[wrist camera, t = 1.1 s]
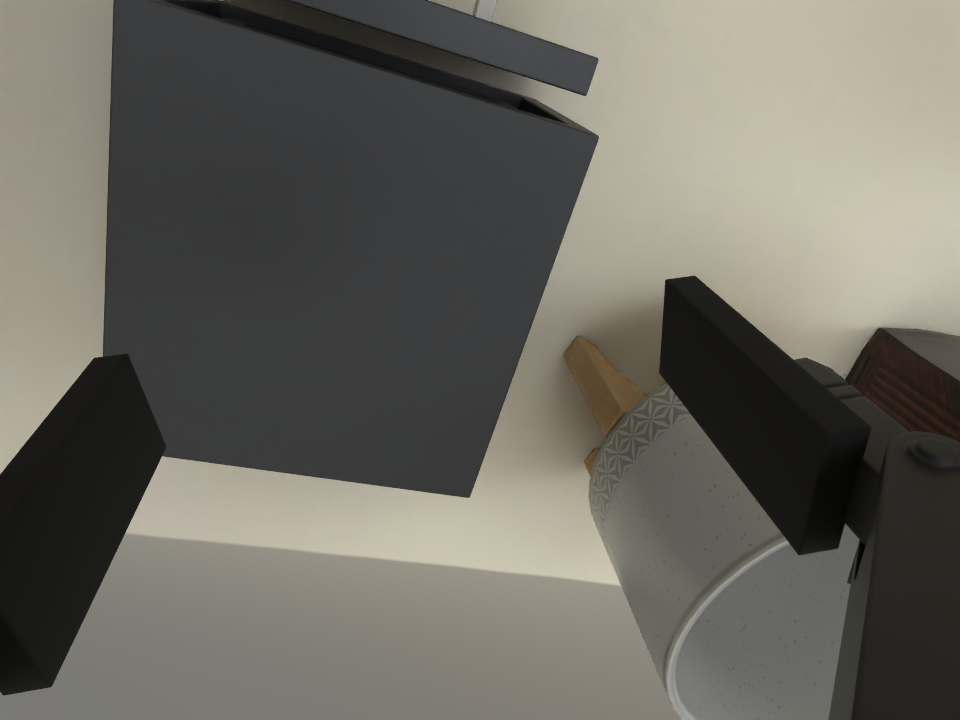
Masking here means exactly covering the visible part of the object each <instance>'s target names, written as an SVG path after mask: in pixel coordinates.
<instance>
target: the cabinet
mask: <svg viewBox="0 0 960 720" xmlns="http://www.w3.org/2000/svg"><path fill="white" fill-rule="evenodd" d="M221 18H233V19H236V20H239V21H243V22H246V23H249V24H252V25H256V26H259V27H262V28H265V29H269V30H272V31H275V32H278V33H282V34H285V35H288V36H291V37H295V38H298V39H301V40H304V41H308V42H311V43H314V44H318V45H321V46H324V47H327V48H331V49H334V50H337V51H340V52H344V53H347V54H350V55H353V56H357V57H360V58H363V59H366V60H370V61H373V62H376V63H379V64H383V65H386V66H389V67H392V68H396V69H399V70H402V71H406V72H409V73H412V74H415V75H419V76H422V77H425V78H428V79H432V80H435V81H438V82H441V83H445V84H448V85H451V86H454V87H458V88H461V89H464V90H467V91H471V92H474V93H477V94H480V95H484V96H487V97H490V98H494V99H497V100H500V101H503V102H507V103H510V104H511V105H512V106H514V107H516V108H517V109H516V108H513V107H509V106H506V105H503V104H499V103H496V102H493V101H490V100H486V99H483V98H480V97H477V96H473V95H470V94H467V93H463V92H460V91H457V90H454V89H450V88H447V87H444V86H441V85H437V84H434V83H431V82H427V81H424V80H421V79H418V78H414V77H411V76H408V75H404V74H401V73H398V72H395V71H391V70H388V69H385V68H382V67H378V66H375V65H372V64H368V63H365V62H362V61H359V60H355V59H352V58H349V57H346V56H342V55H339V54H336V53H332V52H329V51H326V50H323V49H319V48H316V47H313V46H310V45H306V44H303V43H300V42H296V41H293V40H290V39H287V38H283V37H280V36H277V35H274V34H270V33H267V32H264V31H260V30H257V29H254V28H251V27H247V26H244V25H241V24H238V23H234V22H231V21H228V20H224V19H221ZM598 139H599V136H598V135H596V134H595V133H593V132H591V131H589V130H588V129H586V128H584V127H582V126H581V125H579V124H577V123H575V122H574V121H572V120H570V119H568V118H567V117H565V116H563V115H561V114H560V113H558V112H556V111H554V110H553V109H551V108H549V107H547V106H546V105H544V104H542V103H541V102H539V101H537V100H535V99H532V98H529V97H525V96H522V95H519V94H516V93H513V92H509V91H506V90H503V89H500V88H497V87H493V86H490V85H487V84H484V83H481V82H477V81H474V80H471V79H468V78H464V77H461V76H458V75H455V74H452V73H448V72H445V71H442V70H439V69H436V68H432V67H429V66H426V65H423V64H420V63H416V62H413V61H410V60H407V59H404V58H400V57H397V56H394V55H391V54H388V53H384V52H381V51H378V50H375V49H372V48H368V47H365V46H362V45H359V44H355V43H352V42H349V41H346V40H343V39H339V38H336V37H333V36H330V35H327V34H323V33H320V32H317V31H314V30H311V29H307V28H304V27H301V26H298V25H295V24H291V23H288V22H285V21H282V20H279V19H275V18H272V17H269V16H266V15H263V14H259V13H256V12H253V11H250V10H246V9H243V8H240V7H237V6H234V5H230V4H227V3H224V2H221V1H218V0H114V5H113V38H112V71H111V104H110V137H109V170H108V203H107V237H106V270H105V303H104V336H103V357H105V356H112V355H119V354H127V353H128V355H129V357H130V360H131V362H132V365H133V367H134V369H135V372H136V374H137V377H138V379H139V381H140V384H141V386H142V389H143V391H144V393H145V396H146V398H147V401H148V403H149V406H150V408H151V410H152V413H153V415H154V418H155V420H156V422H157V425H158V427H159V430H160V432H161V434H162V437H163V439H164V442H165V444H166V446H167V447H166V449H165V451H164V453H163V455H162V456H165V457H172V458H180V459H187V460H194V461H202V462H209V463H216V464H224V465H231V466H238V467H246V468H253V469H260V470H268V471H275V472H282V473H290V474H297V475H304V476H312V477H319V478H326V479H334V480H341V481H348V482H356V483H363V484H370V485H378V486H385V487H393V488H400V489H407V490H415V491H422V492H429V493H437V494H444V495H451V496H459V497H466V498H469V497H470V495H471V492H472V490H473V487H474V484H475V481H476V479H477V476H478V473H479V470H480V467H481V465H482V462H483V459H484V456H485V453H486V451H487V448H488V445H489V442H490V440H491V437H492V434H493V431H494V428H495V426H496V423H497V420H498V417H499V415H500V412H501V409H502V406H503V403H504V401H505V398H506V395H507V392H508V389H509V387H510V384H511V381H512V378H513V376H514V373H515V370H516V367H517V364H518V362H519V359H520V356H521V353H522V351H523V348H524V345H525V342H526V339H527V337H528V334H529V331H530V328H531V325H532V323H533V320H534V317H535V314H536V312H537V309H538V306H539V303H540V300H541V298H542V295H543V292H544V289H545V286H546V284H547V281H548V278H549V275H550V273H551V270H552V267H553V264H554V261H555V259H556V256H557V253H558V250H559V248H560V245H561V242H562V239H563V236H564V234H565V231H566V228H567V225H568V222H569V220H570V217H571V214H572V211H573V209H574V206H575V203H576V200H577V197H578V195H579V192H580V189H581V186H582V184H583V181H584V178H585V175H586V172H587V170H588V167H589V164H590V161H591V158H592V156H593V153H594V150H595V147H596V145H597V142H598Z"/></svg>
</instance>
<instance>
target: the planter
mask: <svg viewBox="0 0 960 720" xmlns="http://www.w3.org/2000/svg"><path fill="white" fill-rule="evenodd" d="M769 340H770V339H769ZM776 346H777V345H776ZM782 351H783V350H782ZM783 352H784V351H783ZM789 357H790V356H789ZM563 358H564V359H565V361H566V363H567V365H568V367H569V369H570V371H571V373H572V375H573V376H574V378H575V380H576V382H577V384H578V386H579V388H580V390H581V392H582V393H583V395H584V397H585V399H586V401H587V403H588V405H589V407H590V409H591V410H592V412H593V414H594V416H595V418H596V420H597V422H598V424H599V426H600V427H601V429H602V431H603V433H604V435H606V436H608V437H607V439H606V440H605V442H604V444H603V445H602V447H601V449H600V450H598V449H596V448H595V449H594V451H593V452H592V453H591V454H590V456H589V457H588V458H587V459H586V461H585V462H584V463H585V466H586V468H587V470H588V472H589V474H590V477H591V478H590V483H589V502H590V508H591V513H592V516H593V519H594V521H595V524H596V527H597V529H598V531H599V534H600V536H601V539H602V541H603V543H604V546H605V548H606V550H607V553H608V555H609V558H610V560H611V562H612V565H613V567H614V570H615V572H616V574H617V577H618V579H619V581H620V584H621V586H622V589H623V591H624V593H625V595H626V598H627V600H628V603H629V605H630V608H631V610H632V612H633V615H634V617H635V619H636V622H637V624H638V627H639V629H640V631H641V634H642V636H643V639H644V641H645V643H646V646H647V648H648V650H649V653H650V655H651V657H652V660H653V662H654V664H655V667H656V669H657V672H658V674H659V677H660V679H661V681H662V684H663V686H664V688H665V691H666V693H667V696H668V698H669V700H670V703H671V705H672V707H673V708H674V710H675V711H676V713H677V714H678V716H679V717H680V718H681V720H829V713H830V707H831V701H832V695H833V689H834V683H835V677H836V670H837V664H838V658H839V652H840V646H841V640H842V634H843V627H844V621H845V615H846V609H847V603H848V597H849V590H850V584H848V583H847V581H848V577H849V574H850V570H851V567H852V564H853V560H854V557H855V554H856V550H857V547H858V543H859V540H860V539H859V538H858V537H857V536H856V535H855V534H854V533H853V532H852V531H851V529H850V528H849V527H848V526H847V525H846V524H845V526H844V529H843V533H842V537H841V540H840V544H839V547H838V549H833V550H828V551H822V552H816V553H811V554H805V555H798V554H797V553H796V551H795V550H794V549H793V548H792V546H791V545H790V544H789V542H788V541H787V540H786V538H785V537H784V536H783V534H782V533H781V532H780V530H779V529H778V528H777V527H776V525H775V524H774V523H773V521H772V520H771V519H770V517H769V516H768V515H767V513H766V512H765V511H764V510H763V508H762V507H761V506H760V504H759V503H758V502H757V500H756V499H755V498H754V496H753V495H752V494H751V493H750V491H749V490H748V489H747V487H746V486H745V485H744V483H743V482H742V481H741V479H740V478H739V477H738V476H737V474H736V473H735V472H734V470H733V469H732V468H731V466H730V465H729V464H728V462H727V461H726V460H725V458H724V457H723V456H722V455H721V453H720V452H719V451H718V449H717V448H716V447H715V445H714V444H713V443H712V441H711V440H710V439H709V438H708V436H707V435H706V434H705V432H704V431H703V430H702V428H701V427H700V426H699V424H698V423H697V422H696V421H695V419H694V418H693V417H692V415H691V414H690V413H689V411H688V410H687V409H686V407H685V406H684V405H683V404H682V402H681V401H680V400H679V398H678V397H677V396H676V394H675V393H674V392H673V390H672V389H671V388H670V386H669V385H668V384H667V383H665V384H664V385H662V386H660V387H659V388H657V389H655V390H654V391H652V392H651V393H650V394H648V395H646V394H645V393H644V392H642V391H641V390H640V389H638V388H637V387H636V386H635V385H634V384H632V383H631V382H630V381H629V380H628V379H626V378H625V377H624V376H623V375H622V374H621V373H620V372H619V371H617V370H616V369H615V368H614V367H613V366H612V365H611V364H610V363H609V362H608V361H607V360H606V358H605V357H604V356H603V355H602V354H601V353H600V352H599V350H598V349H597V348H596V346H595V345H594V344H592V343H590V342H588V341H586V340H584V339H583V338H581V337H579V336H577V337H576V339H575V340H574V342H573V343H572V344H571V346H570V347H569V349H568V350H567V351H566V353H565V354H564V356H563ZM790 358H791V357H790Z"/></svg>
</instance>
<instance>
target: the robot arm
mask: <svg viewBox="0 0 960 720" xmlns="http://www.w3.org/2000/svg"><path fill="white" fill-rule="evenodd" d="M659 373H660V375H661V376H662V377H663V379H664V380H665V381H666V383H667V384H668V385H669V386H670V388H671V389H672V390H673V392H674V393H675V394H676V396H677V397H678V398H679V400H680V401H681V402H682V404H683V405H684V406H685V407H686V409H687V410H688V411H689V413H690V414H691V415H692V417H693V418H694V419H695V421H696V422H697V423H698V424H699V426H700V427H701V428H702V430H703V431H704V432H705V434H706V435H707V436H708V438H709V439H710V440H711V441H712V443H713V444H714V445H715V447H716V448H717V449H718V451H719V452H720V453H721V455H722V456H723V457H724V458H725V460H726V461H727V462H728V464H729V465H730V466H731V468H732V469H733V470H734V472H735V473H736V474H737V476H738V477H739V478H740V479H741V481H742V482H743V483H744V485H745V486H746V487H747V489H748V490H749V491H750V493H751V494H752V495H753V496H754V498H755V499H756V500H757V502H758V503H759V504H760V506H761V507H762V508H763V510H764V511H765V512H766V513H767V515H768V516H769V517H770V519H771V520H772V521H773V523H774V524H775V525H776V527H777V528H778V529H779V530H780V532H781V533H782V534H783V536H784V537H785V538H786V540H787V541H788V542H789V544H790V545H791V546H792V548H793V549H794V550H795V551H796V553H797V554H798V555H805V554H811V553H816V552H822V551H828V550H833V549H838V547H839V544H840V540H841V537H842V533H843V529H844V526H845V524H846V525H847V526H848V527H849V528H850V529H851V531H852V532H853V533H854V534H855V535H856V536H857V537H858V538H859V539H860V540H859V543H858V547H857V550H856V554H855V557H854V560H853V564H852V567H851V570H850V574H849V577H848V581H847V583H848V584H850V590H849V597H848V603H847V609H846V615H845V621H844V627H843V634H842V640H841V646H840V652H839V658H838V664H837V670H836V677H835V683H834V689H833V695H832V701H831V707H830V713H829V720H960V442H958V441H956V440H954V439H952V438H949V437H945V436H942V435H939V434H936V433H929V432H921V431H912V432H909V431H908V430H907V429H905V428H904V427H903V426H902V425H900V424H899V423H898V422H897V421H895V420H894V419H893V418H892V417H890V416H889V415H888V414H887V413H885V412H884V411H883V410H882V409H881V408H879V407H878V406H877V405H876V404H874V403H873V402H872V401H871V400H869V399H868V398H867V397H866V396H862V395H861V392H859V391H858V390H857V389H856V388H854V387H853V386H852V385H848V382H847V381H846V380H844V379H843V378H842V377H841V376H839V375H838V374H837V373H836V372H834V371H833V370H832V369H831V368H828V367H826V366H824V365H822V364H819V363H817V362H815V361H813V360H810V359H808V358H803V359H796V360H793V359H792V358H790V357H789V356H788V355H787V354H786V353H785V352H783V351H782V350H781V349H780V348H779V347H778V346H776V345H775V344H774V343H773V342H772V341H771V340H769V339H768V338H767V337H766V336H765V335H764V334H762V333H761V332H760V331H759V330H758V329H757V328H755V327H754V326H753V325H752V324H751V323H749V322H748V321H747V320H746V319H745V318H744V317H742V316H741V315H740V314H739V313H738V312H737V311H735V310H734V309H733V308H732V307H731V306H730V305H728V304H727V303H726V302H725V301H724V300H723V299H721V298H720V297H719V296H718V295H717V294H716V293H714V292H713V291H712V290H711V289H710V288H709V287H707V286H706V285H705V284H704V283H703V282H702V281H700V280H699V279H698V278H697V277H696V276H689V277H681V278H674V279H667V280H665V295H664V310H663V325H662V340H661V355H660V370H659ZM166 447H167V446H166V444H165V442H164V439H163V437H162V434H161V432H160V430H159V427H158V425H157V422H156V420H155V418H154V415H153V413H152V410H151V408H150V406H149V403H148V401H147V398H146V396H145V393H144V391H143V389H142V386H141V384H140V381H139V379H138V377H137V374H136V372H135V369H134V367H133V365H132V362H131V360H130V357H129V355H128V353H127V354H119V355H112V356H105V357H98V358H94V359H93V360H92V361H91V362H90V364H89V365H88V366H87V367H86V369H85V370H84V371H83V372H82V374H81V375H80V376H79V377H78V379H77V380H76V381H75V382H74V384H73V385H72V386H71V387H70V389H69V390H68V391H67V392H66V394H65V395H64V396H63V397H62V398H61V400H60V401H59V402H58V403H57V405H56V406H55V407H54V408H53V410H52V411H51V412H50V413H49V415H48V416H47V417H46V418H45V420H44V421H43V422H42V423H41V425H40V426H39V427H38V428H37V430H36V431H35V432H34V433H33V435H32V436H31V437H30V438H29V440H28V441H27V442H26V443H25V444H24V446H23V447H22V448H21V449H20V451H19V452H18V453H17V454H16V456H15V457H14V458H13V459H12V461H11V462H10V463H9V464H8V466H7V467H6V468H5V469H4V471H3V472H2V473H1V474H0V692H1V693H2V695H9V694H14V693H20V692H25V691H31V690H37V689H43V688H48V687H52V685H53V683H54V680H55V679H56V676H57V674H58V672H59V670H60V668H61V666H62V664H63V662H64V660H65V658H66V656H67V653H68V651H69V649H70V647H71V645H72V643H73V641H74V639H75V636H76V635H77V633H78V630H79V628H80V626H81V624H82V622H83V620H84V618H85V616H86V614H87V612H88V610H89V608H90V605H91V603H92V601H93V599H94V597H95V595H96V593H97V590H98V589H99V587H100V585H101V582H102V580H103V578H104V576H105V574H106V572H107V570H108V568H109V566H110V564H111V561H112V559H113V557H114V555H115V553H116V551H117V549H118V547H119V545H120V543H121V541H122V539H123V536H124V534H125V532H126V530H127V528H128V526H129V524H130V522H131V520H132V518H133V516H134V514H135V511H136V509H137V507H138V505H139V503H140V501H141V499H142V497H143V495H144V493H145V491H146V488H147V486H148V484H149V482H150V480H151V478H152V476H153V474H154V472H155V470H156V468H157V466H158V463H159V461H160V459H161V457H162V455H163V453H164V451H165V449H166Z"/></svg>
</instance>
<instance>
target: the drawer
mask: <svg viewBox="0 0 960 720" xmlns="http://www.w3.org/2000/svg"><path fill="white" fill-rule="evenodd" d="M287 1H290V2H293V3H297V4H300V5H303V6H306V7H309V8H312V9H315V10H318V11H321V12H325V13H328V14H331V15H334V16H337V17H340V18H343V19H346V20H350V21H353V22H356V23H359V24H362V25H365V26H368V27H371V28H375V29H378V30H381V31H384V32H387V33H390V34H393V35H396V36H400V37H403V38H406V39H409V40H412V41H415V42H418V43H421V44H425V45H428V46H431V47H434V48H437V49H440V50H443V51H446V52H449V53H453V54H456V55H459V56H462V57H465V58H468V59H471V60H474V61H478V62H481V63H484V64H487V65H490V66H493V67H496V68H499V69H503V70H506V71H509V72H512V73H515V74H518V75H521V76H524V77H528V78H531V79H534V80H537V81H540V82H543V83H546V84H549V85H552V86H556V87H559V88H562V89H565V90H568V91H571V92H574V93H577V94H581V95H584V96H586V95H587V92H588V89H589V86H590V84H591V81H592V78H593V75H594V72H595V69H596V66H597V63H598V58H596V57H593V56H590V55H587V54H584V53H581V52H578V51H575V50H573V49H570V48H567V47H564V46H561V45H558V44H555V43H552V42H549V41H546V40H543V39H540V38H537V37H534V36H531V35H528V34H525V33H522V32H519V31H516V30H514V29H511V28H508V27H505V26H502V25H499V24H496V23H493V22H491V21H492V17H493V13H494V9H495V6H496V2H497V0H476V4H475V8H474V12H473V16H472V15H469V14H466V13H463V12H460V11H457V10H455V9H452V8H449V7H446V6H443V5H440V4H437V3H434V2H431V1H428V0H287ZM221 19H224V20H228V21H231V22H234V23H238V24H241V25H244V26H247V27H251V28H254V29H257V30H260V31H264V32H267V33H270V34H274V35H277V36H280V37H283V38H287V39H290V40H293V41H296V42H300V43H303V44H306V45H310V46H313V47H316V48H319V49H323V50H326V51H329V52H332V53H336V54H339V55H342V56H346V57H349V58H352V59H355V60H359V61H362V62H365V63H368V64H372V65H375V66H378V67H382V68H385V69H388V70H391V71H395V72H398V73H401V74H404V75H408V76H411V77H414V78H418V79H421V80H424V81H427V82H431V83H434V84H437V85H441V86H444V87H447V88H450V89H454V90H457V91H460V92H463V93H467V94H470V95H473V96H477V97H480V98H483V99H486V100H490V101H493V102H496V103H499V104H503V105H506V106H509V107H513V108H516V107H514V106H512V105H511V104H510V103H507V102H503V101H500V100H497V99H494V98H490V97H487V96H484V95H480V94H477V93H474V92H471V91H467V90H464V89H461V88H458V87H454V86H451V85H448V84H445V83H441V82H438V81H435V80H432V79H428V78H425V77H422V76H419V75H415V74H412V73H409V72H406V71H402V70H399V69H396V68H392V67H389V66H386V65H383V64H379V63H376V62H373V61H370V60H366V59H363V58H360V57H357V56H353V55H350V54H347V53H344V52H340V51H337V50H334V49H331V48H327V47H324V46H321V45H318V44H314V43H311V42H308V41H304V40H301V39H298V38H295V37H291V36H288V35H285V34H282V33H278V32H275V31H272V30H269V29H265V28H262V27H259V26H256V25H252V24H249V23H246V22H243V21H239V20H236V19H233V18H221ZM516 109H517V108H516Z"/></svg>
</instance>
